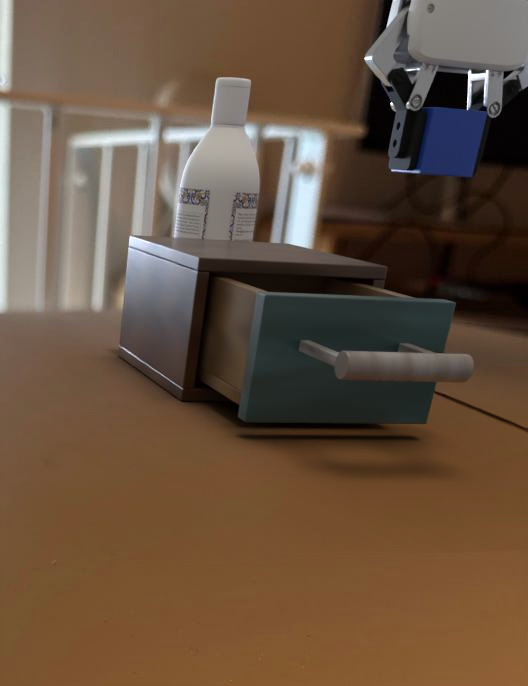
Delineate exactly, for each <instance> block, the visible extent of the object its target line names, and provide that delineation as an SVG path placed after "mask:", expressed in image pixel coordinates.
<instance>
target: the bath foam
mask: <svg viewBox="0 0 528 686" xmlns="http://www.w3.org/2000/svg"><path fill="white" fill-rule="evenodd" d="M251 88H252V80H251V79H248V78H241V77H228V76H227V77H226V76H224V77H222V76H221V77H217V78H216V80H215V87H214V95H213V102H212V109H211V110H212V111H211V119H210V127H209V128H208V130H207V131H206V132H205V133H204V134H203V136H202V137H201V139H200V140H199V142H198V143H197V144H196V146H195V148H194V149H193V151H192V152H191V154H190V155H189V157H188V159H187V161H186V164H185V166H184V169H183V172H182V176H181V180H180V183H179V184H180V185H179V190H178V199H177V207H176V215H175V225H174V233H173V237H176V238H194V239H213V240H231V241H250V242H253V240H254V239H253V238H254V231H255V225H256V218H257V211H258V206H259V205H258V204H259V197H260V187H261V186H260V185H261V179H260V176H261V175H260V169H259V168H260V167H259V163H258V159H257V157H256V154H255V150H254V148H253V146H252V143H251V140H250V138H249V136H248V134H247V131H246V127H245V126H246V122H247V116H248V109H249V104H250V103H249V102H250V95H251Z"/></svg>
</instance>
